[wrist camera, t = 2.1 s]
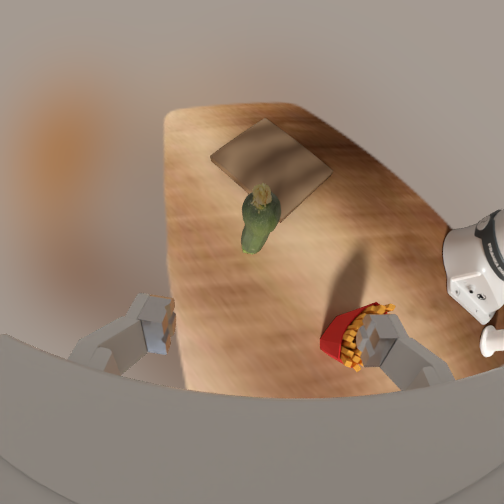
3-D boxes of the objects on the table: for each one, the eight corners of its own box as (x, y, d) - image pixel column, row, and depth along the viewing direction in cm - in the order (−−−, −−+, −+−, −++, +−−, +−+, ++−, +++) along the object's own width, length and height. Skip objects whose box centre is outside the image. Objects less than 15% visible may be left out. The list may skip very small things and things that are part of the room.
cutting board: (330, 175, 47) (333, 170, 46) (280, 222, 44) (281, 219, 43) (264, 122, 50) (265, 117, 49) (210, 160, 47) (210, 155, 46)
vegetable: (247, 229, 44) (255, 153, 24) (272, 240, 43) (298, 169, 24) (235, 254, 42) (235, 190, 23) (261, 265, 42) (282, 208, 23)
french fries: (343, 304, 41) (383, 292, 28) (362, 320, 40) (407, 313, 28) (308, 352, 39) (339, 359, 26) (329, 367, 38) (366, 380, 25)
